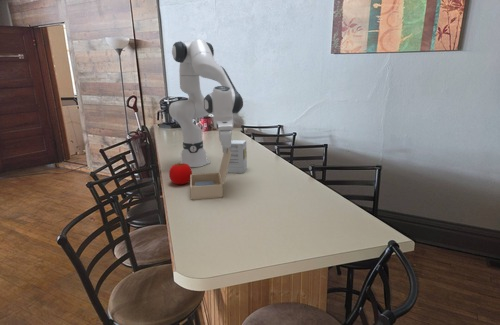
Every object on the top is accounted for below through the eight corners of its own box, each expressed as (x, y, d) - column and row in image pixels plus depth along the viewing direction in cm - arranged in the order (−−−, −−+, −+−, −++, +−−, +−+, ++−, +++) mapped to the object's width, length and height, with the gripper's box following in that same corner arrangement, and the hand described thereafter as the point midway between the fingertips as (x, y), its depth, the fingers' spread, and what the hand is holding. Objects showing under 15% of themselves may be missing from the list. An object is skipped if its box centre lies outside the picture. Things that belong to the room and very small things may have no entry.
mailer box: (191, 186, 159) (190, 174, 157) (219, 183, 161) (218, 172, 159) (191, 199, 142) (190, 187, 140) (222, 197, 144) (222, 184, 142)
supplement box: (243, 173, 177) (242, 143, 172) (227, 172, 178) (226, 143, 174) (247, 168, 186) (246, 140, 181) (231, 167, 187) (230, 139, 183)
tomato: (170, 188, 157) (168, 167, 154) (169, 180, 168) (167, 161, 165) (193, 185, 159) (192, 165, 156) (191, 178, 171) (189, 159, 168)
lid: (225, 144, 156) (227, 144, 156) (219, 171, 159) (220, 171, 159) (230, 153, 139) (231, 153, 139) (222, 183, 142) (224, 183, 142)
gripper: (215, 120, 153) (216, 148, 157) (218, 127, 134) (219, 159, 138) (228, 119, 154) (229, 147, 158) (233, 126, 135) (234, 158, 139)
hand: (225, 153), depth 148 cm, fingers closed, pressing on lid
